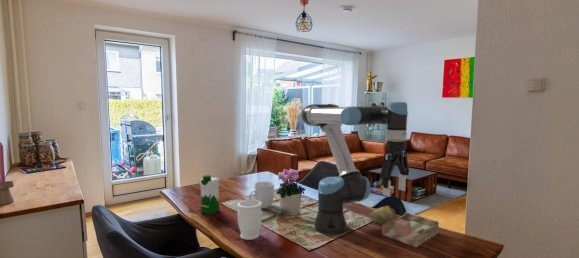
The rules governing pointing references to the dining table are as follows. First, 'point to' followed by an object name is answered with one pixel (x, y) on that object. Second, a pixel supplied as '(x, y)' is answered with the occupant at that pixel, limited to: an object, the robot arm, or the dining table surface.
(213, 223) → the dining table surface
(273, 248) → the dining table surface
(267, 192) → the mug
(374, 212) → the pastry
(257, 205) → the jar
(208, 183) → the milk carton
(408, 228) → the terracotta block
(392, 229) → the tray
